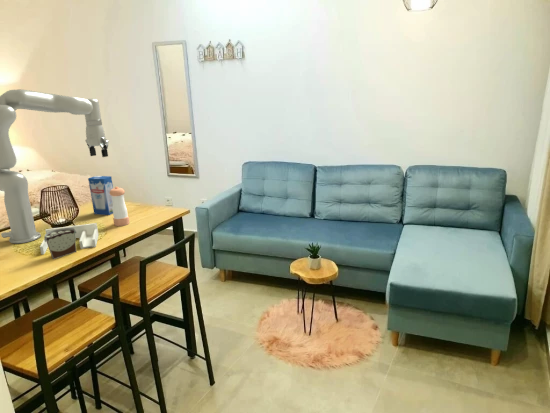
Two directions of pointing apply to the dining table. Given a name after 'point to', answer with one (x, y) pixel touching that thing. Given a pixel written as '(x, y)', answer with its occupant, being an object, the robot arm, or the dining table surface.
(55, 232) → the food container
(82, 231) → the rack
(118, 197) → the pepper shaker
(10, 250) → the dining table surface
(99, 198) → the milk carton
